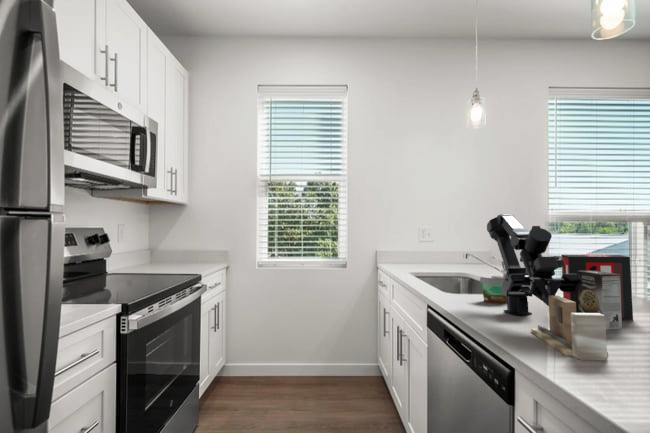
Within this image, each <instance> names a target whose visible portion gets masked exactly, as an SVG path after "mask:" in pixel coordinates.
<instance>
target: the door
mask: <svg viewBox="0 0 650 433" xmlns="http://www.w3.org/2000/svg"><path fill="white" fill-rule="evenodd" d="M548 298H549V306H548V315H549V318H548V319H549V329H550V331H552V332H553V333H555V334H557V335H558V336H560V337H562V338H563V339H565V340H567V341H568V342H570V343H572V330H571V313H576V302H574V301H571V300H568V299H566V298H563V296H561V295H555V296H548Z"/></svg>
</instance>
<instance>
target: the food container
mask: <svg viewBox="0 0 650 433" xmlns="http://www.w3.org/2000/svg"><path fill="white" fill-rule="evenodd" d="M504 278H505V277H504ZM504 278H499V277H484V276H480V278H479V282H480V283H481V288H482V289H481V290H482V295H483V296H482V297H483V301H484V302H486V303H488V302H489V303H490V304H498V305H499V304H501V305H502V304H503V305H504V304H507V296H505V295H503V294H502V290H501V288H502V285H503V282H504Z"/></svg>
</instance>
